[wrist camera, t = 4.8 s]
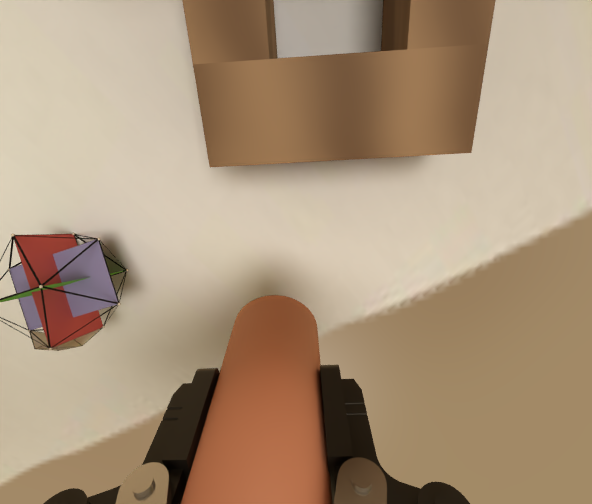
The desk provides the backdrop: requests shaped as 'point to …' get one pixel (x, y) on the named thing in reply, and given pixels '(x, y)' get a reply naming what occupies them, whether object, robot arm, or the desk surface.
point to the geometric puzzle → (61, 288)
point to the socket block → (338, 85)
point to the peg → (265, 414)
